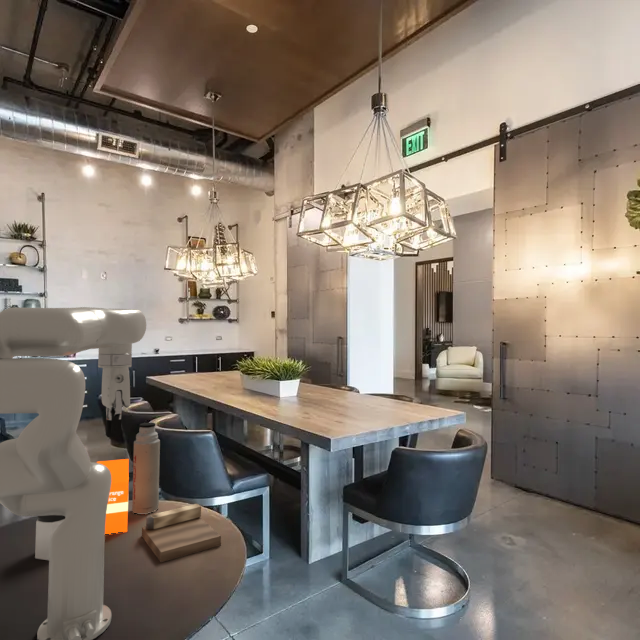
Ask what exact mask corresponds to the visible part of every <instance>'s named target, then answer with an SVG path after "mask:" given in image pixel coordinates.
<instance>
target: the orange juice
mask: <svg viewBox="0 0 640 640" xmlns="http://www.w3.org/2000/svg"><path fill="white" fill-rule="evenodd" d="M129 460H130V459H129V458H125V459H124V458H122V459H112V460H99V461H96V463H100V464H103V465H105V466H106V467H107V468H108V469H109V470H110V473H111V489H110V494H109V499H108V505H107V511H106V521H105V534H109V535H112V534H111V533H116V534H119V533H118V532H123V533H127V532H128V524H129V523H128V520H129V519H128V515H129V483H130V482H129V480H130V477H129V463H130V461H129Z"/></svg>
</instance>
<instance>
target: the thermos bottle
mask: <svg viewBox="0 0 640 640" xmlns="http://www.w3.org/2000/svg"><path fill="white" fill-rule="evenodd" d="M138 431H139V432H138V433H137V434H135V440H134V441H133V460H132V461H133V465H132V466H133V467H132V468H133V469H132V471H133V472H132V473H133V474H132V507H131V511H133V512H134V513H148V512H152V511H154V510H156V509H157V508H158V506H159V502H160V501H159V500H160V499H159V498H160V485H159V484H160V460H161V459H160V456H161V453H160V452H161V451H160V450H161V440H160V439H159V435H158V434H159V433H158V432H157V431H156V422H142V423H140V424H139V430H138ZM158 509H159V508H158ZM133 512H132V513H133ZM134 513H133V514H134Z"/></svg>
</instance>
